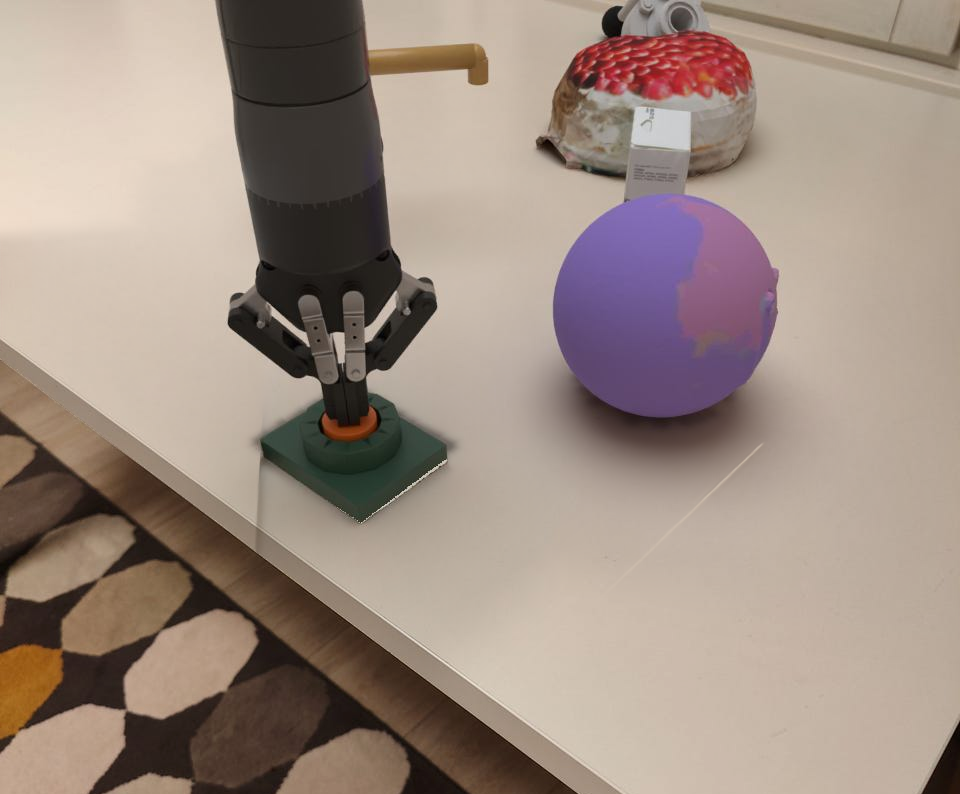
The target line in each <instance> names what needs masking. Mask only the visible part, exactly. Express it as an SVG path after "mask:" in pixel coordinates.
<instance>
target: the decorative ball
mask: <svg viewBox="0 0 960 794" xmlns="http://www.w3.org/2000/svg"><path fill="white" fill-rule="evenodd" d="M779 273H780V269H778V268H776V267H773V266H772V264H771V262H770V258H769V257H768V255H767V252H766V251H765V248H764V247H763V245H762V244H761V242H760V240H759V239H758V237H757V236H756V235H755V234H754V232H753V231H752V230H751V229H750V228H749V227H748V226H747V225H746V223H744V222H743V220H741V219H740V218H738V217H737V216H736V215H735V214H733V213H732V212H730V211H729V210H727V209H726V208H724V207H722V206H720V205H719V204H717V203H714V202H712V201H710V200H707V199H704V198H702V197H698V196H694V195H689V194H684V195H683V194H655V195H648V196H643V197H639V198H636V199H633V200H630V201H627V202H625V203H624V202H623V203H620V204H619V205H616V206H614V207H612V208H610V209H609V210H607V211H606V212H604V213H602V215H600V216H599V217H597V218H596V219H595V220H594V221H592V222H591V223H589V225H588V226H587V227H586V228H585V229H584V230H583V232H582V233H580V234H579V236H578V237H577V238H576V240H575V241H574V242H573V244H572V245H571V247H570V248H569V250H568V252H567V254H566V256H565V257H564V259H563V262H562V264H561V267H560V269H559V271H558V275H557V279H556V280H555V281H556V282H555V286H554V291H553V298H552V321H553V328H554V333H555V337H556V340H557V344H558V347H559V349H560V353H561V354H562V356H563V357H562V358H564V360H565V362H566V364H567V366H568V368H569V369H570V371H571V372H572V373H573V374H574V376H575V377H576V379H577V380H578V381H579V382H580V383H581V384H582V385H583V387H585V388H586V389H587V390H588V391H589V392H590V393H591V394H593V396H595V397H596V398H598V399H600V400H601V401H603V402H604V403H605V404H607V405H609V406H611V407H613V408H616V409H618V410H620V411H623V412H626V413H629V414H631V415H632V414H633V415H636V416H642V417H648V418H675V417H682V416H686V415H690V414H693V413H697V412H700V411H703V410H705V409H707V408H710V407H712V406H713V405H716V404H717V403H719V402H721V401H723V400H724V399H726V398H728V397H729V396H730V395H731V394H733V393H735V391H736V390H738V389H739V388H740V387H742V386H744V385H745V384H747V383H748V382H749V380H750V378H751V377H752V376H753V375H754V372H755V370H756V369H757V367H758V366H759V365H760V363H761V361H762V359H763V357H764V356H765V353H766V351H767V350H768V347H769V346H770V343H771V339H772V337H773V333H774V330H775V327H776V322H777V318H778V314H779V311H778V291H777V288H778V287H777V286H778V283H779V277H780V274H779Z"/></svg>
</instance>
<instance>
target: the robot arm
mask: <svg viewBox="0 0 960 794" xmlns="http://www.w3.org/2000/svg"><path fill="white" fill-rule="evenodd" d="M214 5H215V12H216V17H217V23H218V29H219V32H220V39H221V43H222V49H223V55H224V59H225V64H226V70H227V74H228V80H229V85H230V90H231V97H232V111H233V128H234V135H235V142H236V147H237V152H238V157H239V162H240V163H239V164H240V168H241V173H242V177H243V182H244V187H245V192H246V199H247V203H248V208H249V212H250V219H251V223H252V229H253V233H254V238H255V243H256V248H257V254H258V259H259V260H258V264H257V267H256V269H255V278H254V284H253V285H252V286H251V287H249V289H248V290H247V291H245V292H244V293H243V292H235V293H233V294H232V295H231V296H230V298H229V305H228V313H227V322H226V323H227V326H228V328H229V329H230V330H232V331H233V332H234V333H236V335H238V336H239V337H240V338H241V339H243V340H244V341H246V342H247V343H248V344H249V345H251V346H252V347H253V348H255V350H257V351H259V352H260V353H261V354H262V355H264V356H265V357H266V358H267V359H269V360H270V361H271V362H272V363H274V364H275V365H277V366H278V367H279V368H280V369H281V370H283V371H284V372H285V373H286V374H288V375H289V376H290V377H292V378H294V379H304V378H305V377H306V376H308V377H312V378H315V379H316V380H318V382H319V383H320V387H321V393H322V399H323V400H324V406H325V412H326V415H327V416H328V418H329V419H330V420H334V419H337V421H338V427H344V426H349V423H350V426H353V425H361V424H360V417H364V416H367V415H368V413H369V410H370V409H369V396H368V393H369V390H368V380H367V377H368V375H369V374H370V373H371V372H373V371H376V370H378V371H380V372H385V371H388V370H389V371H390V369H392V368H393V366H394V365H395V364H396V363H397V361H398V360H399V359H400V358H401V356H402V355H403V353H404V352H405V351H406V350H407V349H408V347H409V346H410V345H411V344H412V342H413V341H414V340H415V339H416V337H417V336H418V335H419V333H420V332H421V331H422V330H423V328H424V327H425V325H426V324H427V323H428V322H429V320H430V319H431V318H432V317H433V315H434V314H435V313H436V311H437V310H438V301H437V294H436V289H435V286H434V281H433V280H432V279H431V278H429V277H427V276H422V277H419V278H416V277H414V276H413V275H411V274H409V273H407V272H406V271H404V270H402V262H401V259H400V257H399V256H398V254H397V253H396V252H395V250H394V248H393V246H392V243H391V242H392V241H391V231H390V230H391V228H390V218H389V207H388V198H387V186H386V176H385V165H384V142H383V138H382V133H381V123H380V116H379V112H378V106H377V103H376V102H377V101H376V98H375V93H374V89H373V83H372V76H370V65H369V54H368V50H369V45H368V35H367V24H366V15H365V7H364V2H363V0H214ZM395 292H396V294H395V296H394V301H395V308H394V309H393V311H392V312H390V314H389V316H388V317H387V318H386V320H385V321H384V322H383V323H382V325H381V326H380V328H379V329H378V330H377V331H376V333H375V334H374V335H373V337H372V339H371V340H369V341H367V342H366V331H365V329H366V328H368V327H369V326H371V325H372V324H373V323H374V322H375V321H376V320H377V319H378V317H379V315H380V314H381V313H382V311H383V309H384V308H385V307H386V306H387V303H388V302H389V301H390V299H391V298H392V296H393V295H394V293H395ZM272 308H273V309H274V310H275V311H277V313H279V314H280V315H281V316H282V317H283V318H284V319H285V320H287V321H288V322H289V323H290V324H291V325H292V326H293V327H294V328H296V329H297V330H299V331H300V332H303V333H306V338H307V341H308V344H307V343H306V342H305V341H304V340H303V339H301V338H300V337H299V336H297V335H296V334H295V333H294V332H292V331H291V330H290V329H289V328H288V327H287V326H285V325H284V324H283V323H281V322H280V320H278V319H277V318H276V317H274V316H273V315H272V313H273V310H272ZM334 333H342V334H343V335H344V356H343V357H344V362H340V361H339V353H338V349H337V346H336V341H335V336H334Z"/></svg>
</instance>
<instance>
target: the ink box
mask: <svg viewBox="0 0 960 794" xmlns="http://www.w3.org/2000/svg"><path fill="white" fill-rule="evenodd" d="M690 152H691V112H690V111H677V110H667V109H658V108H650V107H642V106H641V107H636V108H635V113H634V120H633V127H632V134H631V142H630V150H629V158H628V167H627V175H626V178H625V184H624V194H623V203H625V202H627V201H630V200H633V199H636V198H639V197H643V196H648V195H655V194H683V195H685V193H686V186H687V185H686V184H687V179H688V177H687V173H688V166H689V159H690Z"/></svg>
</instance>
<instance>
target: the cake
mask: <svg viewBox="0 0 960 794" xmlns="http://www.w3.org/2000/svg"><path fill="white" fill-rule="evenodd" d="M756 86H757V85H756V81H755V76H754V73H753V68H752V65H751V63H750V60H749V59H748V57H747V55H746V53H745V52H744V51H743V50H742V49H740V48H739V47H737V46H736V45H735V44H734V43H733V42H732V41H730V40H729V39H728V38H727V37H725V36H721V35H718V34H715V33H712V32H710V33H708V32H705V31H692V30H686V31H679V32H677V33H673V34H666V35H661V36H656V37H653V36H636V35H624V36H621V37H612V38H607V39H606V38H605V39H604V40H601V41H599V42H597V43H594V44H592V45H589V46H586V47H585V48H583V49H582V50H581V51H580V50H579V52H577V53H576V55H575V56H574V57H573V58H572V60H571V61H570V64H569V66H568V67H567V69H566V70H565V72H564V73H563V75H562V77H561V79H560V81H559V82H558V84H557V86H556V88H555V89H554V93H553V96H552V99H551V100H552V101H551V111H550V112H551V114H550V115H551V116H550V122H549V125H548V129H547V130H548V133H547V134H546V135H545V134H540V135H539V136H538V137H537V138H536V139H535V145H536V148H539V147H540V146H541V145H542V144H543V143H544V142H545V141H546V140H549V141H550V142H551V143H552V144H553V146H554V147H555V148H556V149H557V150H558V152H559V153H560V154H561V155H562V156H563V157H564V158H565V160H566V163H565V168H566V169H567V168H568V169H569V168H570V169H572V168H574V169H579V170H582V171H584V172H586V173H591V174H593V175H599V176H605V177H612V178H621V179H626V175H627V167H628V158H629V150H630V142H631V134H632V127H633V120H634V113H635V108H636V107H641V106H642V107H650V108H658V109H667V110H677V111H690V112H691V152H690V159H689V166H688V173H687V178H690V177H691V178H692V177H695V176H700V175H704V174H709V173H713V172H716V171H720V170H722V169H724V168H726V167H729V166H730V165H732V164H733V163H734V162H736V161H737V159H738V158H739V155H740V154H741V152H742V150H743V148H744V146H745V143H746V142H747V140H748V139H749V136H750V134H751V132H752V130H753V126H754V125H755V120H756V114H757V107H758V106H757V105H758V104H757V103H758V97H757V88H756Z"/></svg>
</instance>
